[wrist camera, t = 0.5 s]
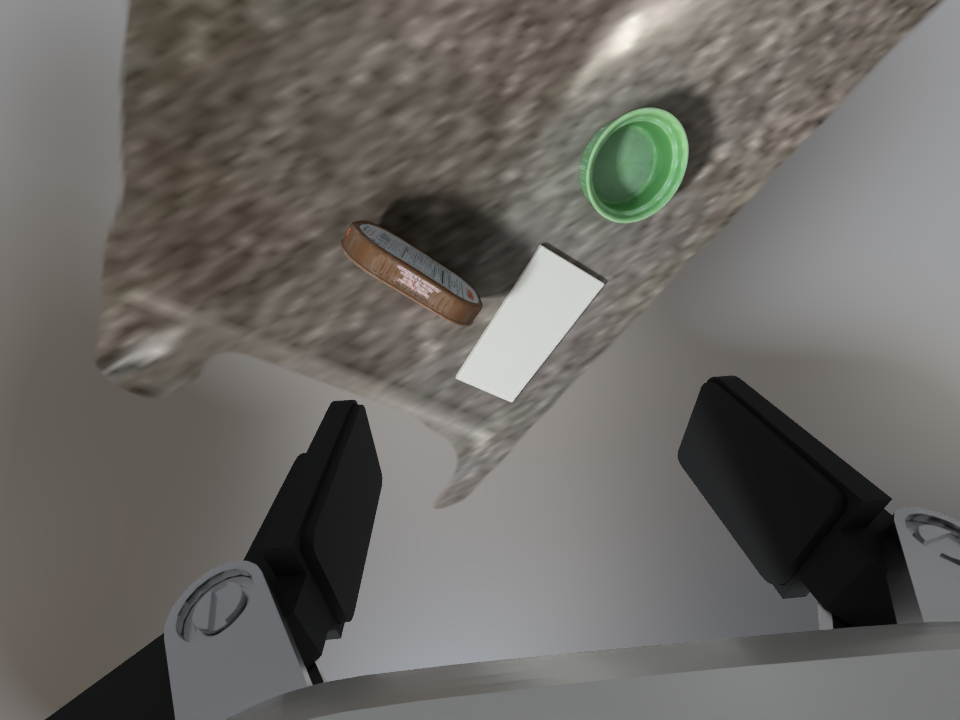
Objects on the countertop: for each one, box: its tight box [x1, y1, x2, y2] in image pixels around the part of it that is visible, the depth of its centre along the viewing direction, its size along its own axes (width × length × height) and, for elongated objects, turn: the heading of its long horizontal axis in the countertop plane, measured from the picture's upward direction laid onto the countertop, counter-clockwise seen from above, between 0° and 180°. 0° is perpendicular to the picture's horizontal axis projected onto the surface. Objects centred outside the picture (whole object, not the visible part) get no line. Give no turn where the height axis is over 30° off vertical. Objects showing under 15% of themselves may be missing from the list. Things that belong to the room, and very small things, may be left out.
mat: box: [456, 244, 604, 402], centre depth 44 cm, size 20×9×1 cm, turn 150°
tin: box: [340, 220, 482, 326], centre depth 35 cm, size 15×3×8 cm, turn 55°
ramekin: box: [580, 107, 689, 223], centre depth 33 cm, size 9×9×4 cm
